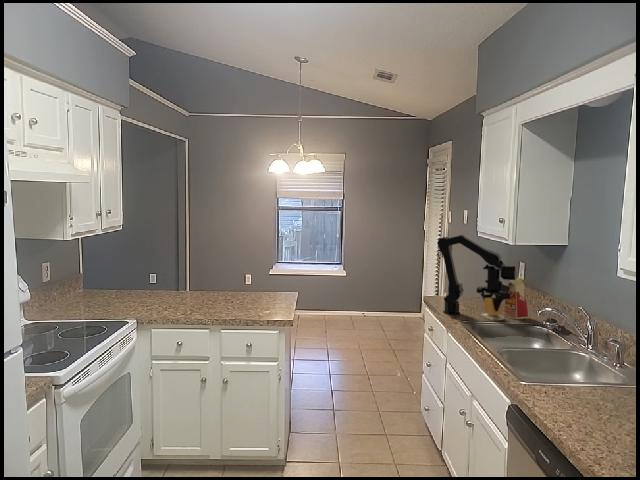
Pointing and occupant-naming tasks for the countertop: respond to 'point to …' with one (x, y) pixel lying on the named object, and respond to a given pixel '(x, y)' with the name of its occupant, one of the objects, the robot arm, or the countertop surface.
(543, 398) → the countertop surface
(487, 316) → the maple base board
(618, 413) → the countertop surface
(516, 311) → the milk carton
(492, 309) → the tan cardboard-colored cube
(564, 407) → the countertop surface
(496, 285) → the robot arm
